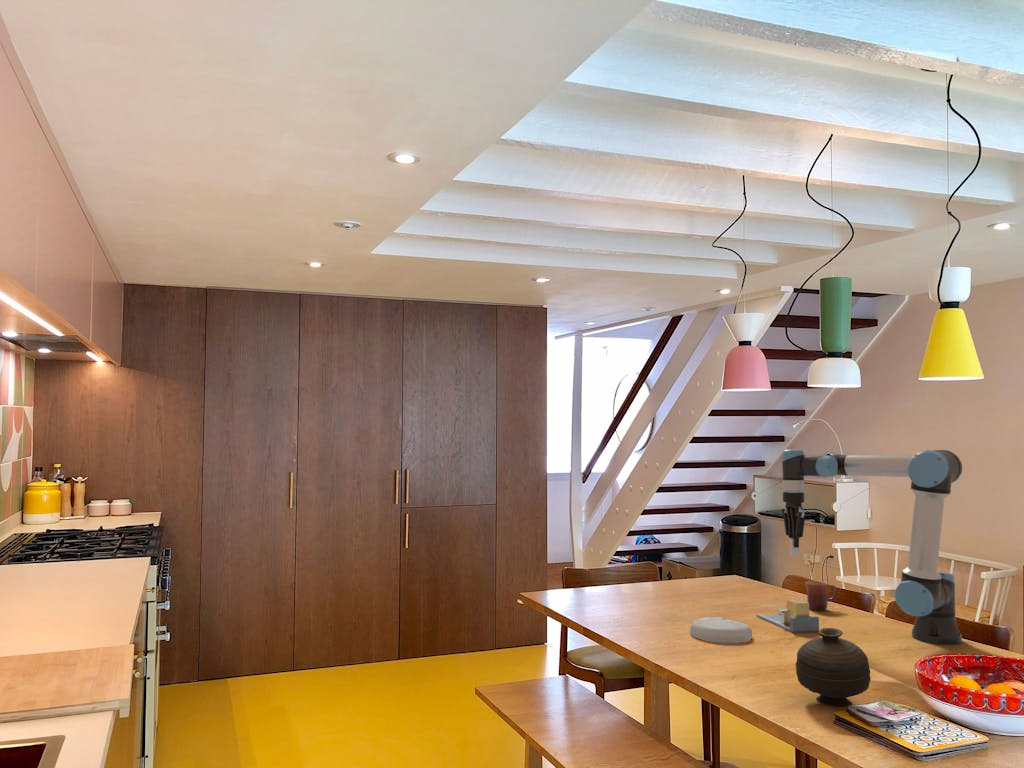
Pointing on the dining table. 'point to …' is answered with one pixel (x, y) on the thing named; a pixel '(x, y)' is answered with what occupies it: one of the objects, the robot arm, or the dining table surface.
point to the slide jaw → (783, 616)
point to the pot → (833, 668)
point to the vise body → (794, 622)
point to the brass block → (796, 609)
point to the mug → (818, 594)
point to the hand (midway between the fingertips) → (794, 555)
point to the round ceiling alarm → (720, 630)
